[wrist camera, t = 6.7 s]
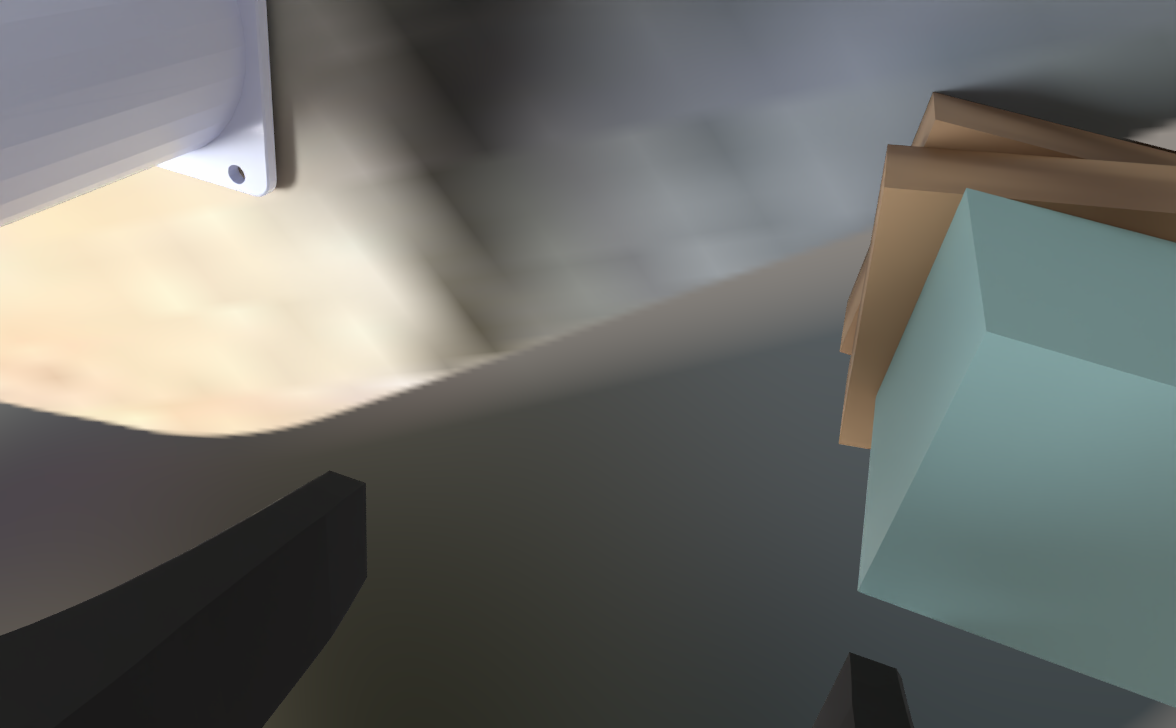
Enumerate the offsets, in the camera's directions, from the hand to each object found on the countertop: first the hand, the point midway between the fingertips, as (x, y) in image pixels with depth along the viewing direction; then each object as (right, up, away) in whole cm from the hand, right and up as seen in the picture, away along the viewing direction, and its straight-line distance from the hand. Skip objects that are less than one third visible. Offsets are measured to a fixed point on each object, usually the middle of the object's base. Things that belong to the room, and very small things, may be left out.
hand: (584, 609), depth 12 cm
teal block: (+7, +4, +2) cm, 8 cm away
